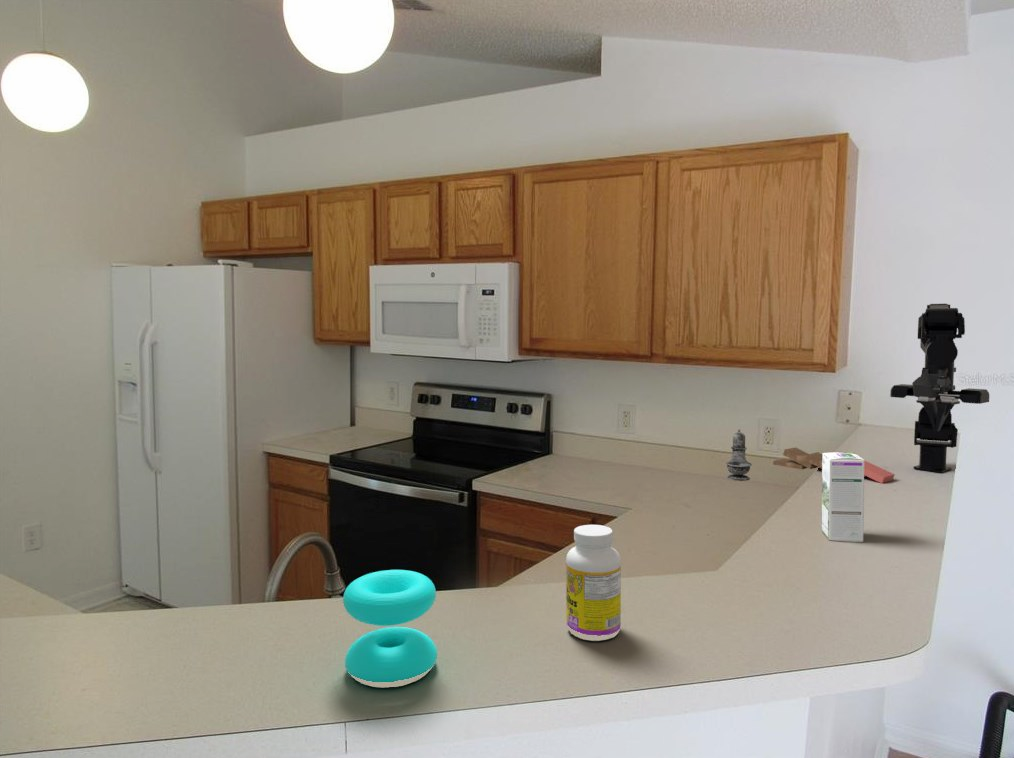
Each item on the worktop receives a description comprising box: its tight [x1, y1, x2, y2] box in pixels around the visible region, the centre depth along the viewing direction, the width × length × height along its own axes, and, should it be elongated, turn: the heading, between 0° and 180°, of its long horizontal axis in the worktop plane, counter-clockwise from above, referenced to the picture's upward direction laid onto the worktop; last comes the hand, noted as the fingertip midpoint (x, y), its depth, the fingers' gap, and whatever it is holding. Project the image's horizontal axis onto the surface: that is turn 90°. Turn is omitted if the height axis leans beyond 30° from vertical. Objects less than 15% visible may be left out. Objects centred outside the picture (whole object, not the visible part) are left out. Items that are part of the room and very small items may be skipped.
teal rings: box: [342, 569, 438, 682], centre depth 76 cm, size 10×10×10 cm
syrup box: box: [820, 451, 865, 543], centre depth 121 cm, size 6×6×14 cm
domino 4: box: [864, 459, 896, 484], centre depth 164 cm, size 2×5×8 cm
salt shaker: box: [725, 428, 752, 482], centre depth 166 cm, size 6×6×12 cm
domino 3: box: [805, 451, 823, 470], centre depth 173 cm, size 2×5×8 cm
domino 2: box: [782, 446, 818, 470], centre depth 178 cm, size 2×5×8 cm
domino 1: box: [772, 457, 808, 470], centre depth 180 cm, size 2×5×8 cm
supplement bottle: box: [565, 524, 622, 636], centre depth 85 cm, size 7×7×13 cm
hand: (936, 430), depth 159 cm, fingers closed
